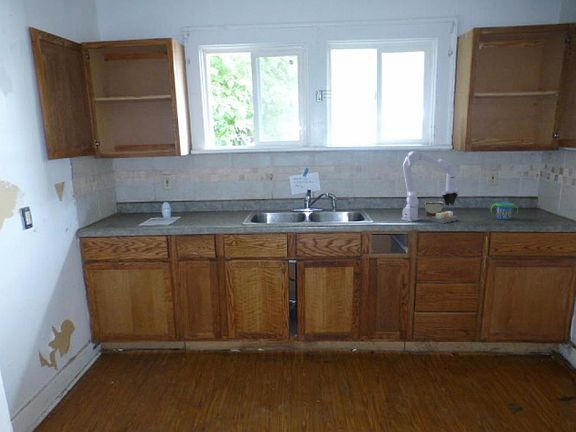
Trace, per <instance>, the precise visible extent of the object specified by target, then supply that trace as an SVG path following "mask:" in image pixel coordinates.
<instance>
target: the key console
mask: <svg viewBox="0 0 576 432" xmlns="http://www.w3.org/2000/svg"><path fill="white" fill-rule="evenodd" d="M458 218H459V217H458V216H456V215H455V216H454V215H453V216H452V217H447V218H442V219H439V218H436V216H435V217H430V222H433V223H438V222H439V224H447V222H448V223H452V222H451V221H453V222H457V221H458ZM456 220H457V221H456Z"/></svg>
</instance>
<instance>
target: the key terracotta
mask: <svg viewBox="0 0 576 432" xmlns="http://www.w3.org/2000/svg"><path fill="white" fill-rule="evenodd" d="M441 213H443V214H444V218H447V217H448V214H449V213H447V211H441Z"/></svg>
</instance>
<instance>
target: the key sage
mask: <svg viewBox="0 0 576 432" xmlns="http://www.w3.org/2000/svg"><path fill="white" fill-rule="evenodd" d="M436 218H439V219H442V218H444V214H443V213H436Z"/></svg>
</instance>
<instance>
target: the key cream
mask: <svg viewBox="0 0 576 432" xmlns="http://www.w3.org/2000/svg"><path fill="white" fill-rule="evenodd" d="M446 212H447V213H449V214H448V217H452V216H454V212H453V211H451V210H449V211H446Z"/></svg>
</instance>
